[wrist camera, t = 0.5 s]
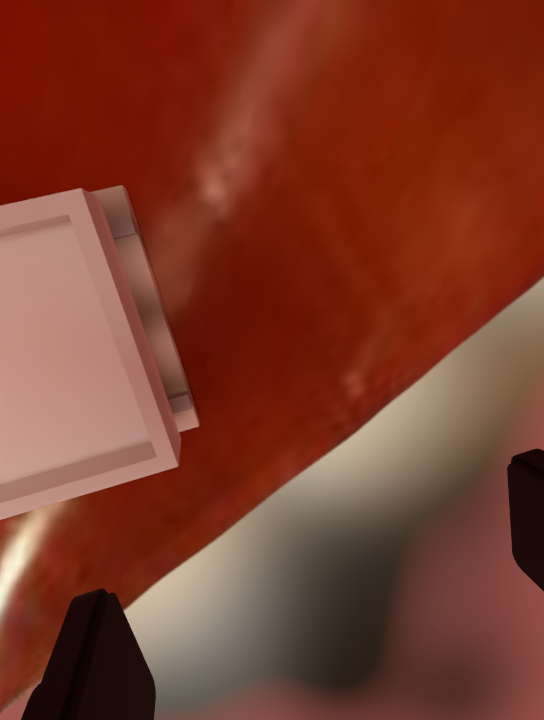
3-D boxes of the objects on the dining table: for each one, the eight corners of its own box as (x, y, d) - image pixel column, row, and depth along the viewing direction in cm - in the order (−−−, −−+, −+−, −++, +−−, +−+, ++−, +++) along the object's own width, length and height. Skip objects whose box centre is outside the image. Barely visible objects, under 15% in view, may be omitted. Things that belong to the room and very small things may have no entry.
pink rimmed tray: (-163, 263, 23) (-282, 267, 18) (108, 202, 25) (81, 188, 19) (-39, 488, 28) (-100, 549, 22) (182, 424, 30) (178, 466, 24)
